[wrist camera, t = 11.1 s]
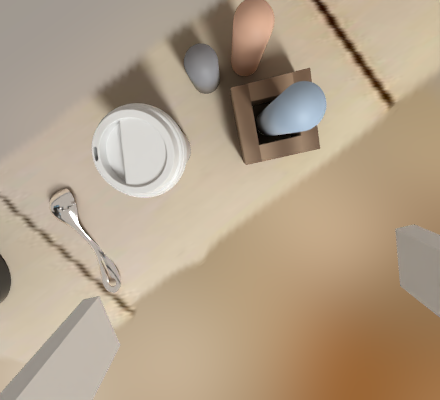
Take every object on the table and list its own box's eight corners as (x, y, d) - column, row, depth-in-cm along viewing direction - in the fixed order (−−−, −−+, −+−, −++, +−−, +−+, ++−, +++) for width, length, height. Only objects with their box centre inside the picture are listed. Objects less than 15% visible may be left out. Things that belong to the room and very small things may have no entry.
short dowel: (196, 96, 35) (189, 85, 28) (189, 67, 34) (179, 49, 27) (222, 89, 34) (221, 76, 28) (215, 60, 33) (213, 39, 27)
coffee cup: (150, 107, 35) (96, 82, 21) (209, 131, 36) (197, 123, 21) (132, 166, 37) (72, 181, 23) (188, 188, 38) (164, 216, 23)
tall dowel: (258, 138, 36) (282, 136, 20) (253, 111, 35) (274, 87, 19) (284, 132, 36) (328, 125, 20) (280, 105, 35) (323, 75, 19)
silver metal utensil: (121, 294, 39) (97, 304, 40) (131, 283, 42) (108, 292, 43) (60, 185, 36) (36, 197, 37) (76, 183, 40) (53, 194, 40)
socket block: (243, 162, 37) (246, 164, 32) (230, 95, 34) (230, 87, 30) (307, 147, 36) (319, 148, 31) (298, 78, 34) (310, 67, 29)
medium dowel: (234, 79, 34) (238, 49, 23) (228, 49, 33) (229, 4, 22) (261, 72, 34) (277, 38, 23) (256, 41, 33) (270, -8, 22)
